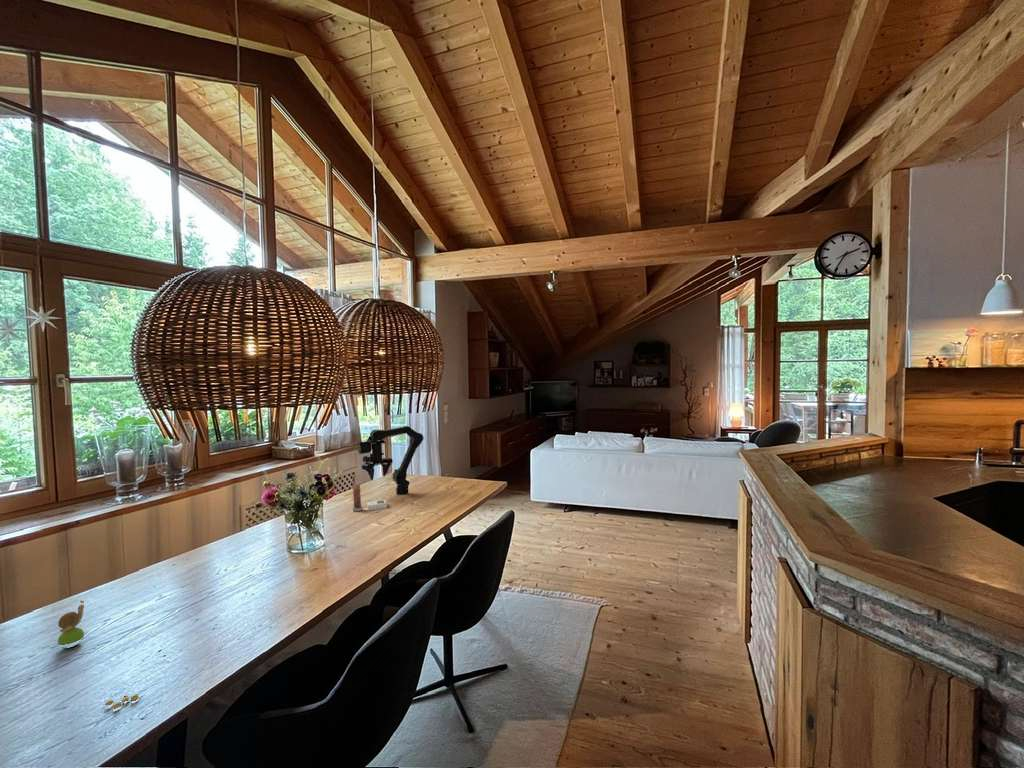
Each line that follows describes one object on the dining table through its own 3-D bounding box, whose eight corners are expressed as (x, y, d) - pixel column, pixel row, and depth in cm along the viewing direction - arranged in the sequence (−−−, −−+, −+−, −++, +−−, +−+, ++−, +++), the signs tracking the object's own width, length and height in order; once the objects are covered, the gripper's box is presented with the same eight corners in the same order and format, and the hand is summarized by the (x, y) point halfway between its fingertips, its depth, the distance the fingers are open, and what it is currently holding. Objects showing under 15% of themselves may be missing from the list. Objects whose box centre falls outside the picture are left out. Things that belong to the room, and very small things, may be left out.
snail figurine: (93, 639, 133) (90, 601, 133) (67, 654, 127) (64, 613, 126) (79, 637, 135) (76, 599, 134) (53, 651, 128) (50, 611, 128)
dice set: (140, 703, 109) (139, 695, 108) (114, 718, 104) (113, 710, 104) (130, 696, 111) (129, 688, 111) (104, 710, 106) (103, 703, 106)
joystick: (363, 508, 242) (362, 484, 241) (360, 511, 237) (359, 486, 236) (354, 508, 242) (353, 484, 241) (351, 511, 237) (349, 486, 236)
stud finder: (385, 504, 248) (385, 499, 248) (387, 507, 242) (386, 502, 242) (366, 507, 244) (366, 502, 244) (367, 510, 239) (367, 505, 238)
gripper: (379, 447, 271) (380, 472, 272) (354, 453, 255) (355, 480, 255) (392, 449, 265) (393, 474, 266) (368, 455, 249) (369, 482, 250)
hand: (378, 478), depth 259 cm, fingers open, 9 cm apart
